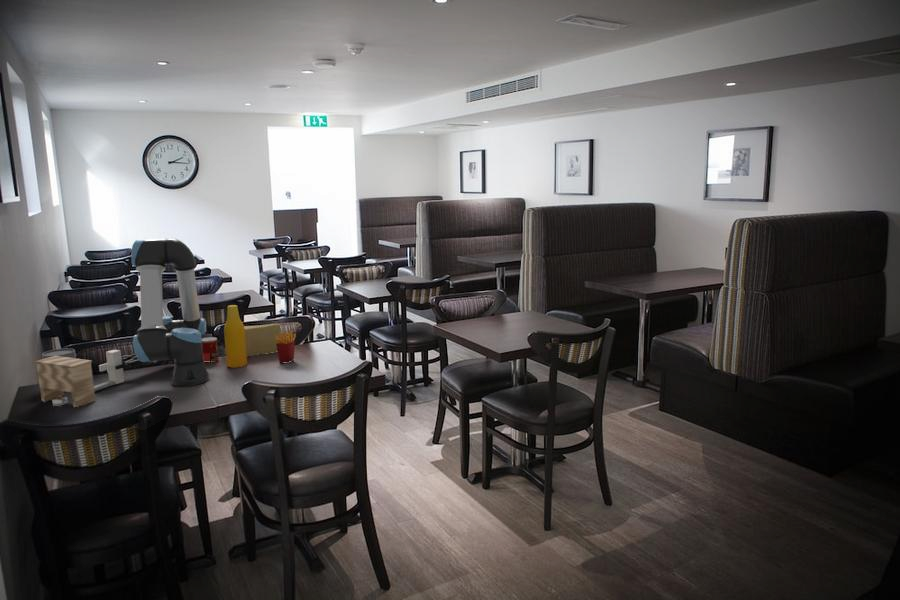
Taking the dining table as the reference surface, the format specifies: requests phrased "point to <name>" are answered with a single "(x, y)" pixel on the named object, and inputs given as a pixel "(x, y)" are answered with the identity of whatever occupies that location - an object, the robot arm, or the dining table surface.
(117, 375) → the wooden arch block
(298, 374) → the dining table surface
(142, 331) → the robot arm
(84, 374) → the wooden bridge
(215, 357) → the red drink glass
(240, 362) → the beer bottle
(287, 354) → the french fries
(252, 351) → the cheese
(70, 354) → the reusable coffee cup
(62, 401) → the steel token
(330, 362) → the dining table surface
